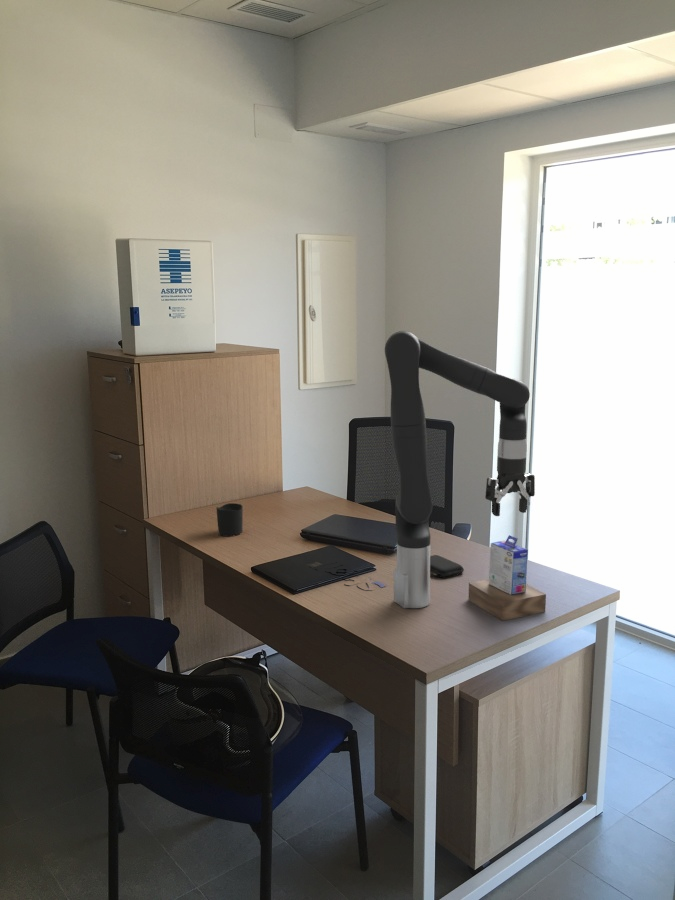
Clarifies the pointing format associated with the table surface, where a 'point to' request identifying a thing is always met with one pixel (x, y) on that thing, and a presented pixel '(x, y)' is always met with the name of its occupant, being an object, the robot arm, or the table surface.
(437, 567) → the carrying case or bag
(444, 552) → the table surface
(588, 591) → the table surface
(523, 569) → the ink cartridge box
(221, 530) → the pen holder
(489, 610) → the wooden block
